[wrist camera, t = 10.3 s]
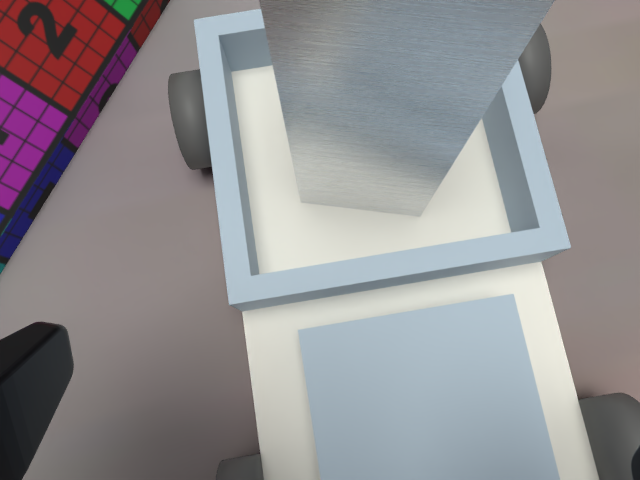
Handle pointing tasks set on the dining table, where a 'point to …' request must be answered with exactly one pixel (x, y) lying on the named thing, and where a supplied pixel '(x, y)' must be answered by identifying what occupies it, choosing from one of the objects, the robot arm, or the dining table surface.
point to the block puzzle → (56, 91)
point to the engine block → (388, 90)
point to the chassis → (395, 295)
